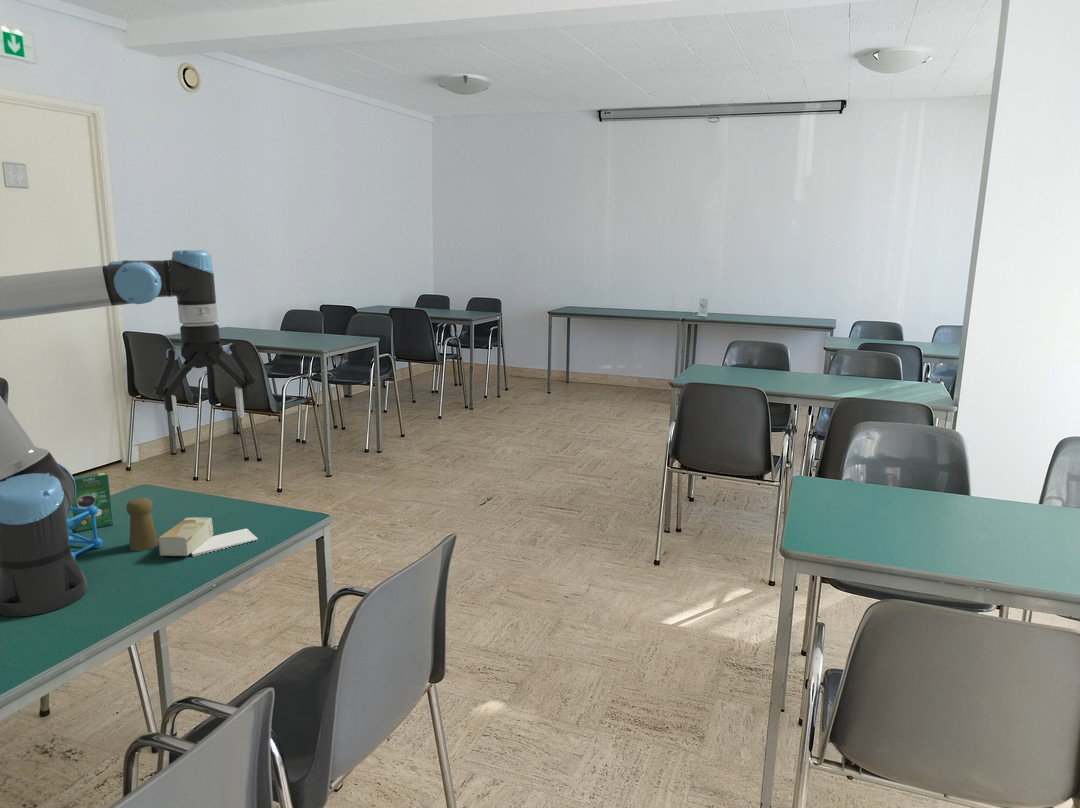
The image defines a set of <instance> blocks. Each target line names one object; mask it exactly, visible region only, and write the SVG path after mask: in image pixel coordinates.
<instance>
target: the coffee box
mask: <svg viewBox="0 0 1080 808" xmlns="http://www.w3.org/2000/svg"><path fill="white" fill-rule="evenodd" d="M73 478H74V481H75V486H76V496H75V499H74V503H73V505H72V506H71V507H73V508H86V509H87V507H89V506H91V505H94V506H96V507H97V508H98V513H97V514H96V515H95V522H96V529H97V528H104V526H105V527H108V526H112V525H114V517H113V510H112V509H113V507H112V498H111V497H112V496H111V490H110V489H111V487H110V481H109V480H110V479H109V474H108V473H107V472H106V471H102V472H101V471H100V472H97V473H90V474H84V475H83V474H82V475H77V476H73ZM82 513H84V512H82V511H72V516H73V517H75V516H77V515H79V514H82ZM73 517H72V518H73ZM79 519H80V518H79ZM79 519H76V520H74V521H73V524H74V523H75V522H76V521H77V520H79ZM74 529H76V530H75V532H76V531H77V533H78V532H83V531H84V530H85V531H88V530H93V528H92V520H91V516H88V517H86V518H85V519H84V520H83V521H81V522H80V523H79V524H78V525H77V526H75V527H74ZM85 531H84V532H85Z"/></svg>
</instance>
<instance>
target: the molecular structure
mask: <svg viewBox="0 0 1080 808" xmlns="http://www.w3.org/2000/svg"><path fill="white" fill-rule="evenodd" d="M70 511H71V512H73V511H82V512H84V513H82V514H79V515H77V516H75V517H70V518H68V517H67V527H68V533H69V540H70V546H71V545H72V544H73V543H74V544H88V545H86V546H84V547H82V548H80V549H78V550H76V551H72V550H71V553H72V555H73V557H74V559H75V560H76V556H77V555H79V554H82V553H83V552H85V551H87V550H89V549H91V548H94V549H99V548H101V547H102V545H103V544H104V543H103V539H102V538H100V537H99V536H98V529H97V528H96V522H95V515H96V514H97V513H98V508H97V507H96V506H94V505H91V506H89V507H87V509H86V508H73V507H72V506H71V508H70ZM70 511H69V512H70ZM88 516H91V520H92V528H93V529H92V534H93V538H92V539H91V538H89V537H87V536H84V535H82V534H78V533H76V532H75V533H74V532H73V529H75V526H77V525H78V524H79V523H80V522H81V521H83V520H84V519H85V518H86V517H88ZM79 518H80V519H79ZM76 519H79V520H77V521H76V522H75V523H74V520H76ZM72 522H73V524H72ZM74 538H76V539H74Z"/></svg>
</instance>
